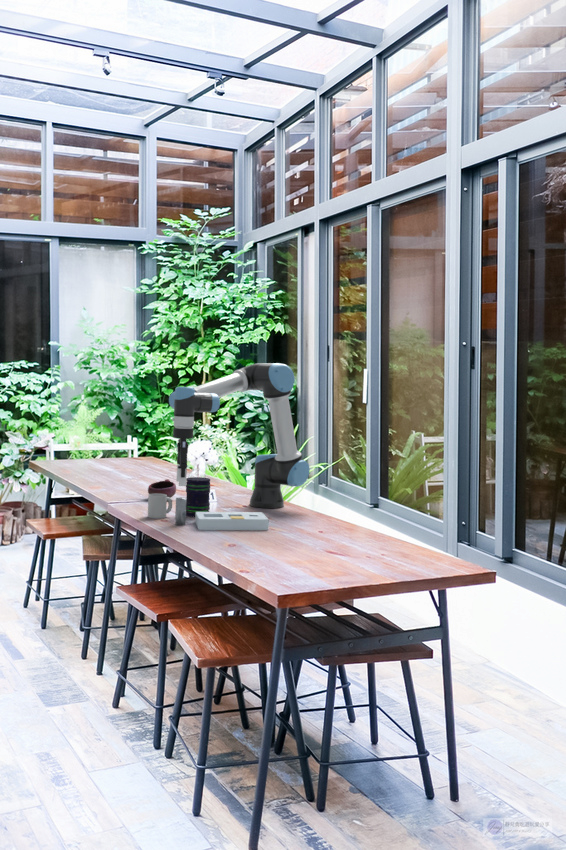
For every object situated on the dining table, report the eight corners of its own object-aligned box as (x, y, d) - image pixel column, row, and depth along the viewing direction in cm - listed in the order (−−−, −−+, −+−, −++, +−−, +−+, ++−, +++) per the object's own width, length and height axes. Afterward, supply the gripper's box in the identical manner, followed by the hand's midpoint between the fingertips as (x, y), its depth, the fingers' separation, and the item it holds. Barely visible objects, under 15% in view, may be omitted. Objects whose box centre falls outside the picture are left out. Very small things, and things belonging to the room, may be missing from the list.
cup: (144, 516, 323) (145, 493, 322) (168, 514, 328) (168, 492, 327) (151, 519, 317) (152, 496, 316) (175, 517, 322) (176, 495, 321)
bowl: (179, 501, 364) (179, 483, 363) (150, 502, 359) (151, 484, 358) (170, 496, 379) (170, 479, 378) (142, 496, 374) (143, 479, 373)
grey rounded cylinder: (174, 523, 310) (175, 497, 309) (185, 523, 310) (186, 497, 310) (175, 525, 306) (176, 498, 305) (186, 525, 306) (186, 499, 306)
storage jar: (211, 514, 333) (212, 478, 333) (206, 518, 324) (208, 480, 323) (187, 512, 334) (188, 476, 334) (182, 516, 325) (183, 479, 324)
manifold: (195, 522, 314) (195, 510, 314) (261, 522, 319) (261, 511, 319) (198, 529, 298) (199, 518, 298) (268, 530, 303) (268, 518, 303)
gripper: (171, 425, 317) (169, 479, 318) (175, 429, 293) (172, 487, 294) (190, 426, 319) (188, 479, 320) (196, 430, 294) (193, 488, 295)
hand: (181, 483), depth 307 cm, fingers open, 13 cm apart
